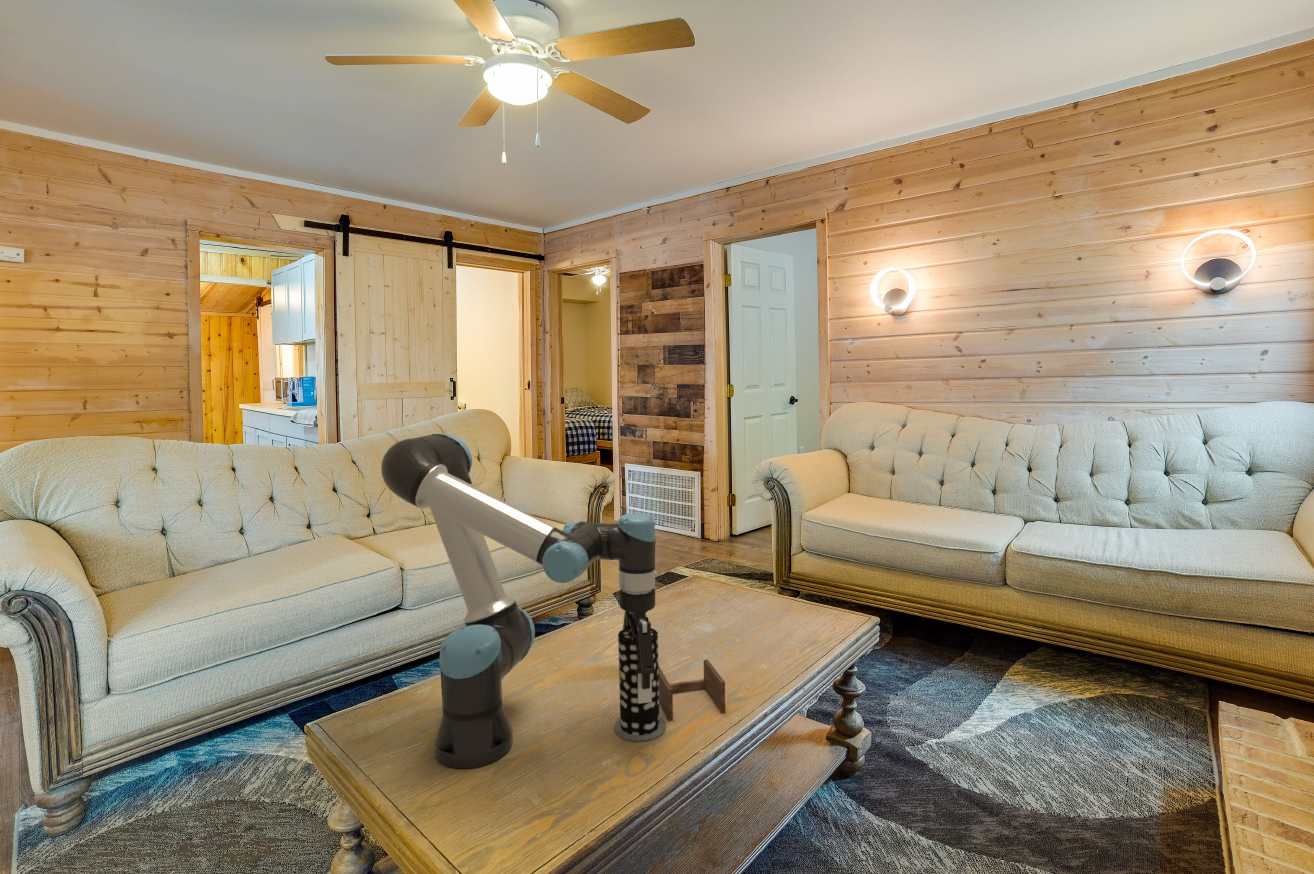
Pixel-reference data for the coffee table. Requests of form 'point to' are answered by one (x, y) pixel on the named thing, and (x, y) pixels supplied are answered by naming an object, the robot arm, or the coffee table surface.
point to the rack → (710, 684)
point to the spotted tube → (636, 687)
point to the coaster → (640, 737)
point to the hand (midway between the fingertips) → (637, 686)
